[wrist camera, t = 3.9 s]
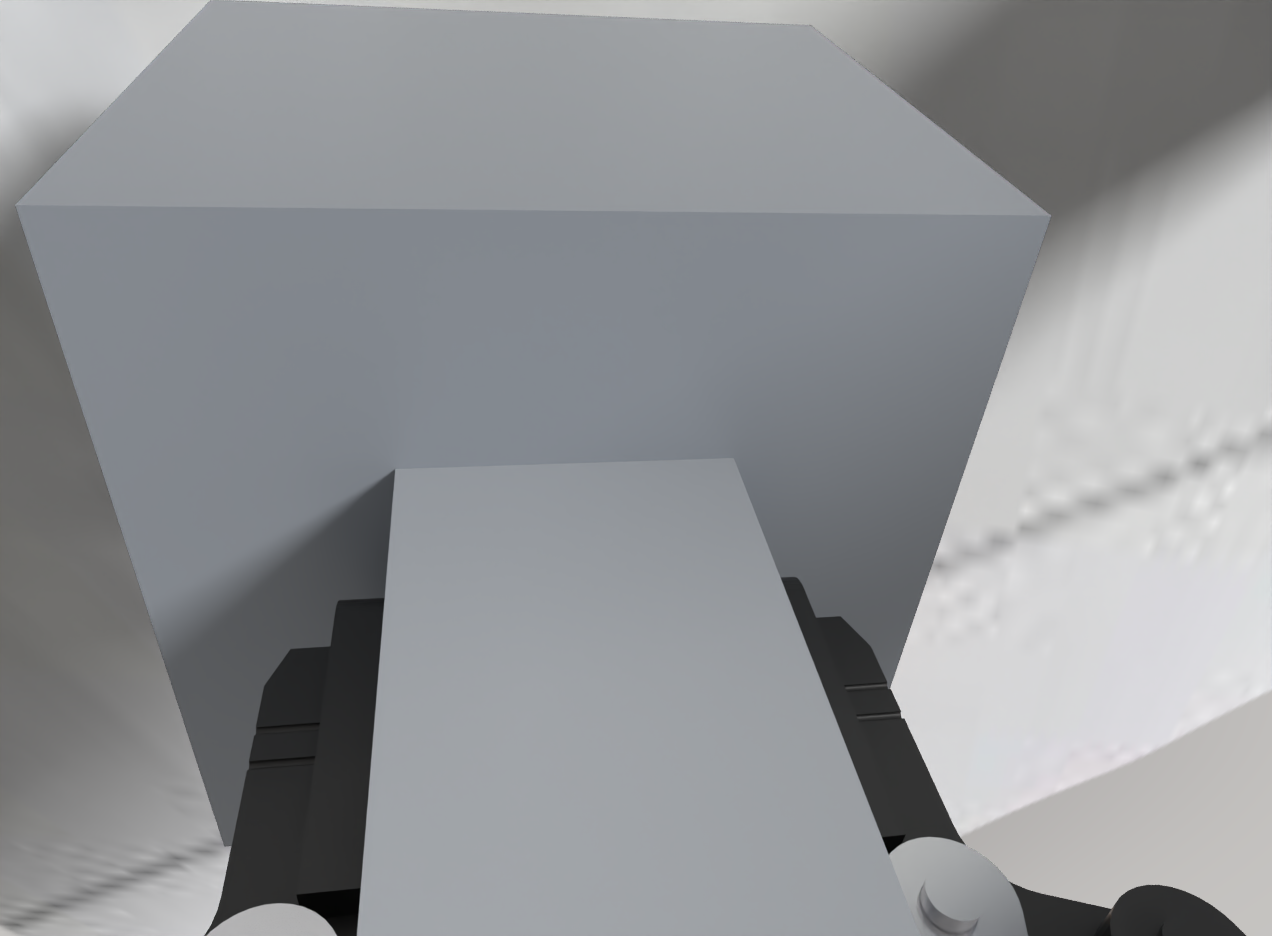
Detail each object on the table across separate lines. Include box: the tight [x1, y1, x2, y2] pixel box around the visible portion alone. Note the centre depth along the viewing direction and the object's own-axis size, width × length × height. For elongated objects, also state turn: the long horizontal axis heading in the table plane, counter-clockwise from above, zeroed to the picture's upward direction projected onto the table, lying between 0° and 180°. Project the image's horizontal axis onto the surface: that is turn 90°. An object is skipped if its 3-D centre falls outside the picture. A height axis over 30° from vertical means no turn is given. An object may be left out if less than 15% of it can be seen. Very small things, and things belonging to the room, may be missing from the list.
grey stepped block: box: [15, 0, 1051, 936], centre depth 14 cm, size 10×10×15 cm
